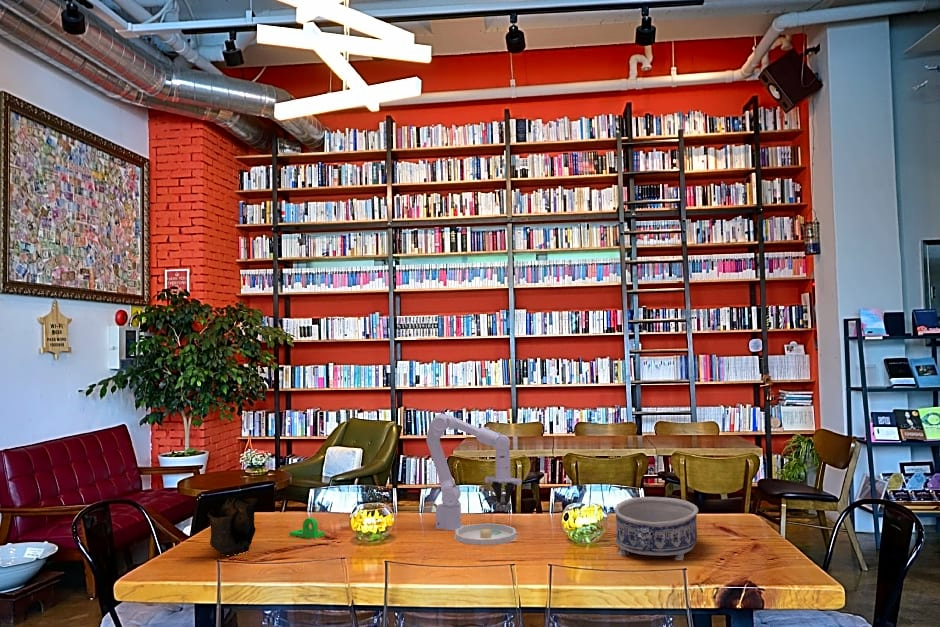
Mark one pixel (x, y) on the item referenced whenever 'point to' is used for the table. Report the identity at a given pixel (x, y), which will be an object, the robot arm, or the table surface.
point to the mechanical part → (308, 530)
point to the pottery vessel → (233, 525)
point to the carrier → (485, 534)
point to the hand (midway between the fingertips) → (503, 502)
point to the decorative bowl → (656, 526)
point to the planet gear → (503, 504)
